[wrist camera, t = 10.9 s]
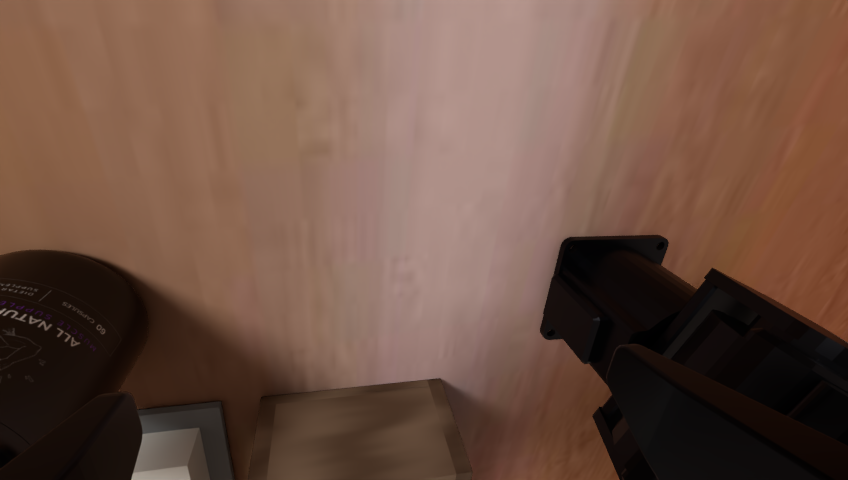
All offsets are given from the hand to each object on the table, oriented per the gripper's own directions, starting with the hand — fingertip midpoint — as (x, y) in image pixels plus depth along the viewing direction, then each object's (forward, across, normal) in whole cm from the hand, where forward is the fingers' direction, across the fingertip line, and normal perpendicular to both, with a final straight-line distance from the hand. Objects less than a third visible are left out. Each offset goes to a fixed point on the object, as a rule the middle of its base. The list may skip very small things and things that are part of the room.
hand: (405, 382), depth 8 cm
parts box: (+12, 0, +17) cm, 21 cm away
